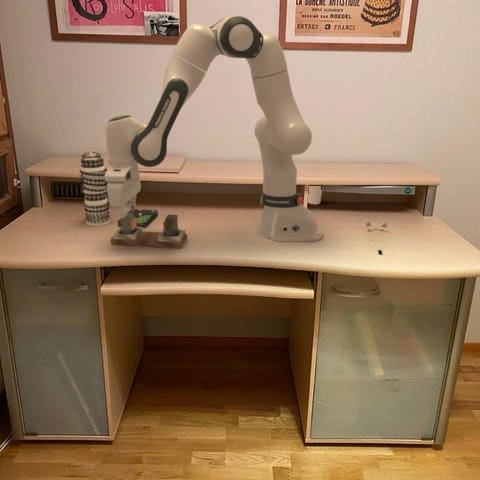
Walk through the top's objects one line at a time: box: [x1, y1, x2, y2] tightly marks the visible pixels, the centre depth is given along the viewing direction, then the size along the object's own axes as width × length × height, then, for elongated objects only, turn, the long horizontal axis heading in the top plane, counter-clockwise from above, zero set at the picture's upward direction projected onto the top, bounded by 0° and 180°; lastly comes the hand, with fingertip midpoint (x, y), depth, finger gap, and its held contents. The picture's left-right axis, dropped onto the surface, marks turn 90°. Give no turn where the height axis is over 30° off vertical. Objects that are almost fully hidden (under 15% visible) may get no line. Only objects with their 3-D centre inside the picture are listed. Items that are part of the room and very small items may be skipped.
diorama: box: [365, 221, 388, 256], centre depth 159 cm, size 9×27×4 cm, turn 169°
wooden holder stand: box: [110, 214, 188, 249], centre depth 153 cm, size 23×8×9 cm, turn 84°
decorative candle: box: [79, 151, 111, 227], centre depth 169 cm, size 9×9×25 cm
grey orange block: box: [121, 212, 137, 234], centre depth 154 cm, size 4×4×7 cm
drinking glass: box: [307, 165, 326, 206], centre depth 196 cm, size 7×7×15 cm
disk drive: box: [117, 208, 159, 229], centre depth 174 cm, size 10×3×15 cm
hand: (127, 212), depth 152 cm, fingers open, 8 cm apart
